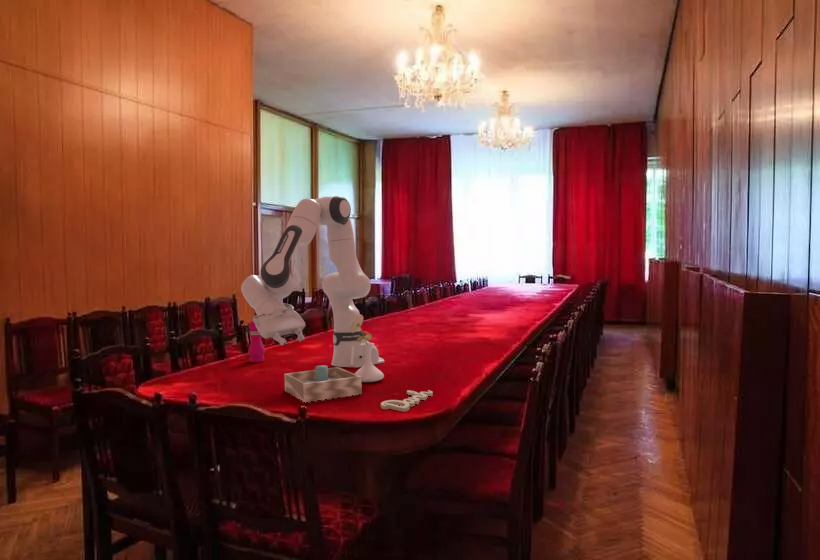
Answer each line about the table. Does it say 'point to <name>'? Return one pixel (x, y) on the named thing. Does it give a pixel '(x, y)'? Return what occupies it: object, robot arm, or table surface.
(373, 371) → the flower in vase
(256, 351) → the pepper mill
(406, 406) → the decorative sign
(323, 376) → the peg
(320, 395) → the bore box
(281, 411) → the table surface
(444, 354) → the table surface
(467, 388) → the table surface
